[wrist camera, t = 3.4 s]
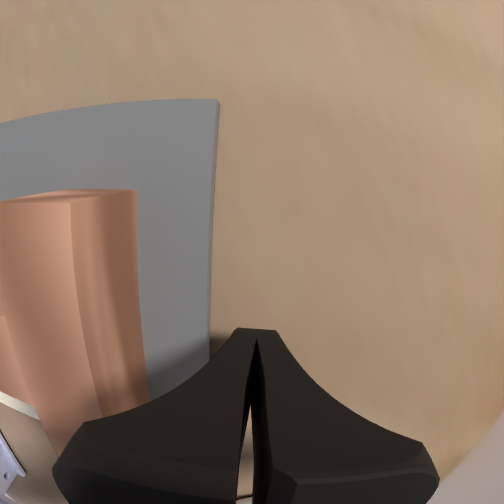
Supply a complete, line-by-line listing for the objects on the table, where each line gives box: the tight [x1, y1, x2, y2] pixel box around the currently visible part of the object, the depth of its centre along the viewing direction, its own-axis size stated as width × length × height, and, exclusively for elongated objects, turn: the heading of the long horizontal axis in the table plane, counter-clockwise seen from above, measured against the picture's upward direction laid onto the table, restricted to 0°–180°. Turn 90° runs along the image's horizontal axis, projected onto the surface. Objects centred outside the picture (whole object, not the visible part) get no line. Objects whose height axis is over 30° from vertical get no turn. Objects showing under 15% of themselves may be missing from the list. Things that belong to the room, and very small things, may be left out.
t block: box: [0, 189, 151, 457], centre depth 9 cm, size 7×10×4 cm
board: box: [0, 99, 220, 420], centre depth 12 cm, size 16×20×1 cm
